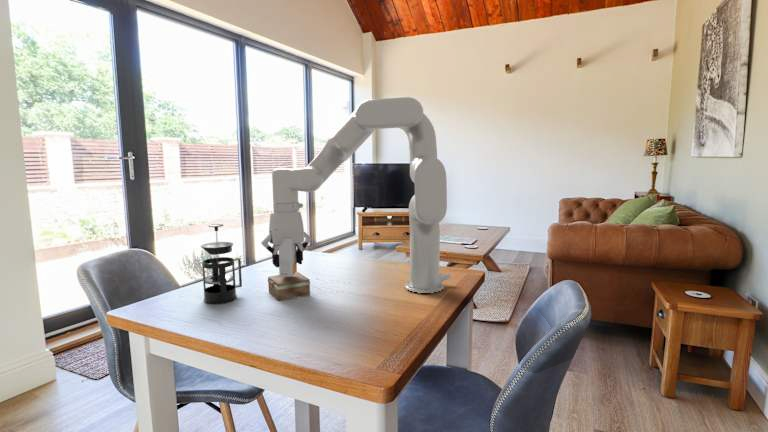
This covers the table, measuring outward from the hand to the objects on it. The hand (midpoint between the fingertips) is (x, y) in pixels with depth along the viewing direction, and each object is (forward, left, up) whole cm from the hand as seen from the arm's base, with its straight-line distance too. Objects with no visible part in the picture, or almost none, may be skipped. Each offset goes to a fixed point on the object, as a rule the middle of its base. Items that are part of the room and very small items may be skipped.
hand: (288, 264), depth 133 cm
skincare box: (0, 0, -3) cm, 3 cm away
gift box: (0, 0, -9) cm, 9 cm away
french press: (+19, -6, -10) cm, 22 cm away
